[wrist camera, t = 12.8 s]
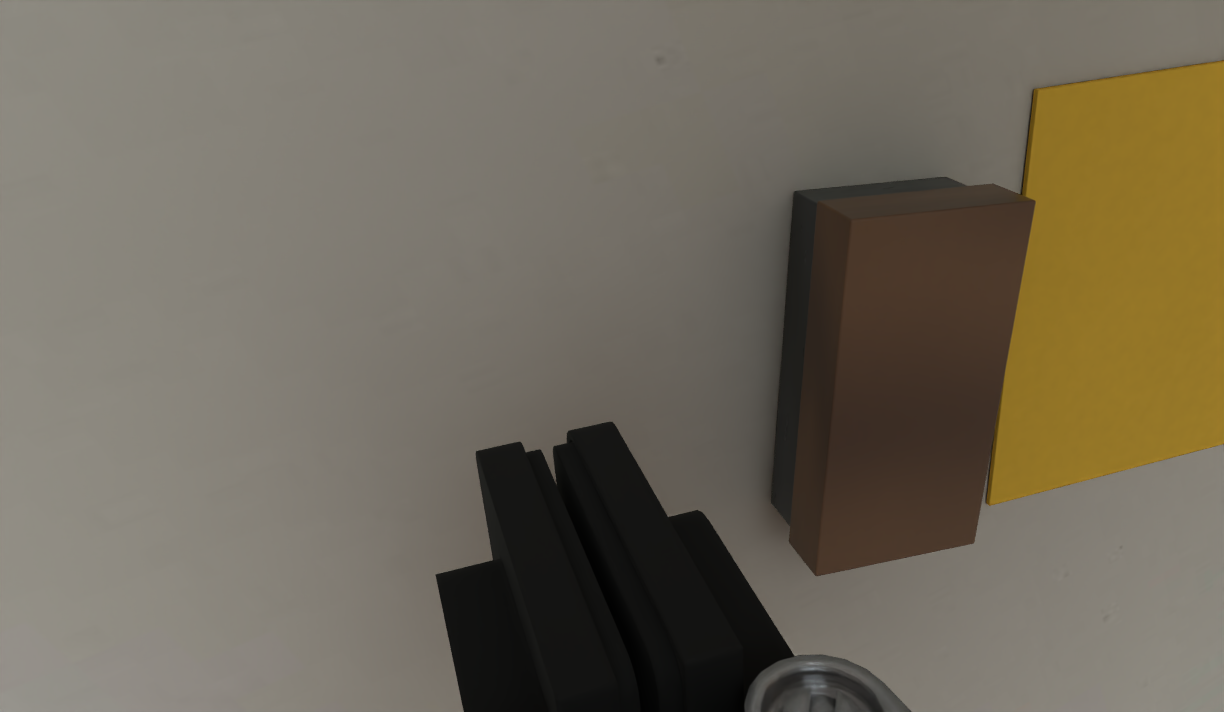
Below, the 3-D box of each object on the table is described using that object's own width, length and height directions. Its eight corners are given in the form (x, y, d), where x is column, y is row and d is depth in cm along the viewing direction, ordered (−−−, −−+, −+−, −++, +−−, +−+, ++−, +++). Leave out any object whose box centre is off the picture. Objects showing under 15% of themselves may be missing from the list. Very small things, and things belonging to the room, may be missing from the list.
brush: (785, 182, 23) (851, 220, 20) (954, 167, 24) (1037, 200, 21) (762, 510, 26) (815, 577, 24) (909, 483, 28) (974, 544, 25)
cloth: (1033, 88, 24) (1037, 90, 23) (1357, 39, 26) (1363, 40, 26) (985, 503, 29) (989, 506, 29) (1258, 431, 31) (1262, 433, 31)
